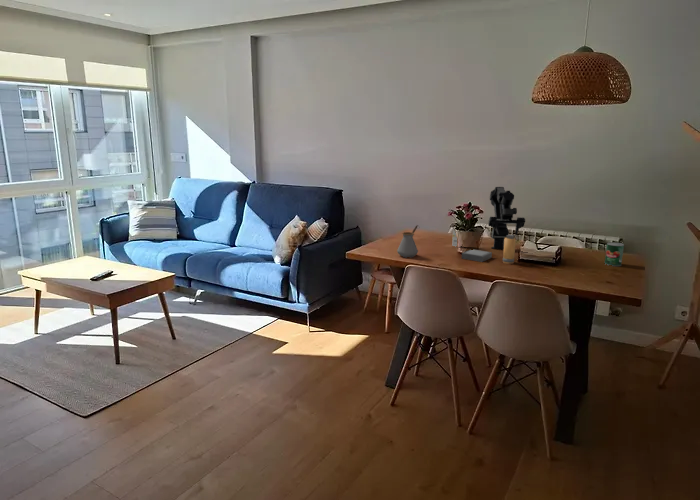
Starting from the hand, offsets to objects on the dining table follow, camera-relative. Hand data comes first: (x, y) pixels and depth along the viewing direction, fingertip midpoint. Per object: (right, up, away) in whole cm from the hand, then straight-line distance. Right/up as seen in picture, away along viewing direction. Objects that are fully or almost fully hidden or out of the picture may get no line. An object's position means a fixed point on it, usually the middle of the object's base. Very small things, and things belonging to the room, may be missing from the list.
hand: (507, 234), depth 268 cm
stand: (-16, -13, +4) cm, 21 cm away
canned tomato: (+53, -16, -8) cm, 56 cm away
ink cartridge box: (-19, -6, +32) cm, 37 cm away
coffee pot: (-51, -11, +13) cm, 53 cm away
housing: (-1, -15, -4) cm, 15 cm away
